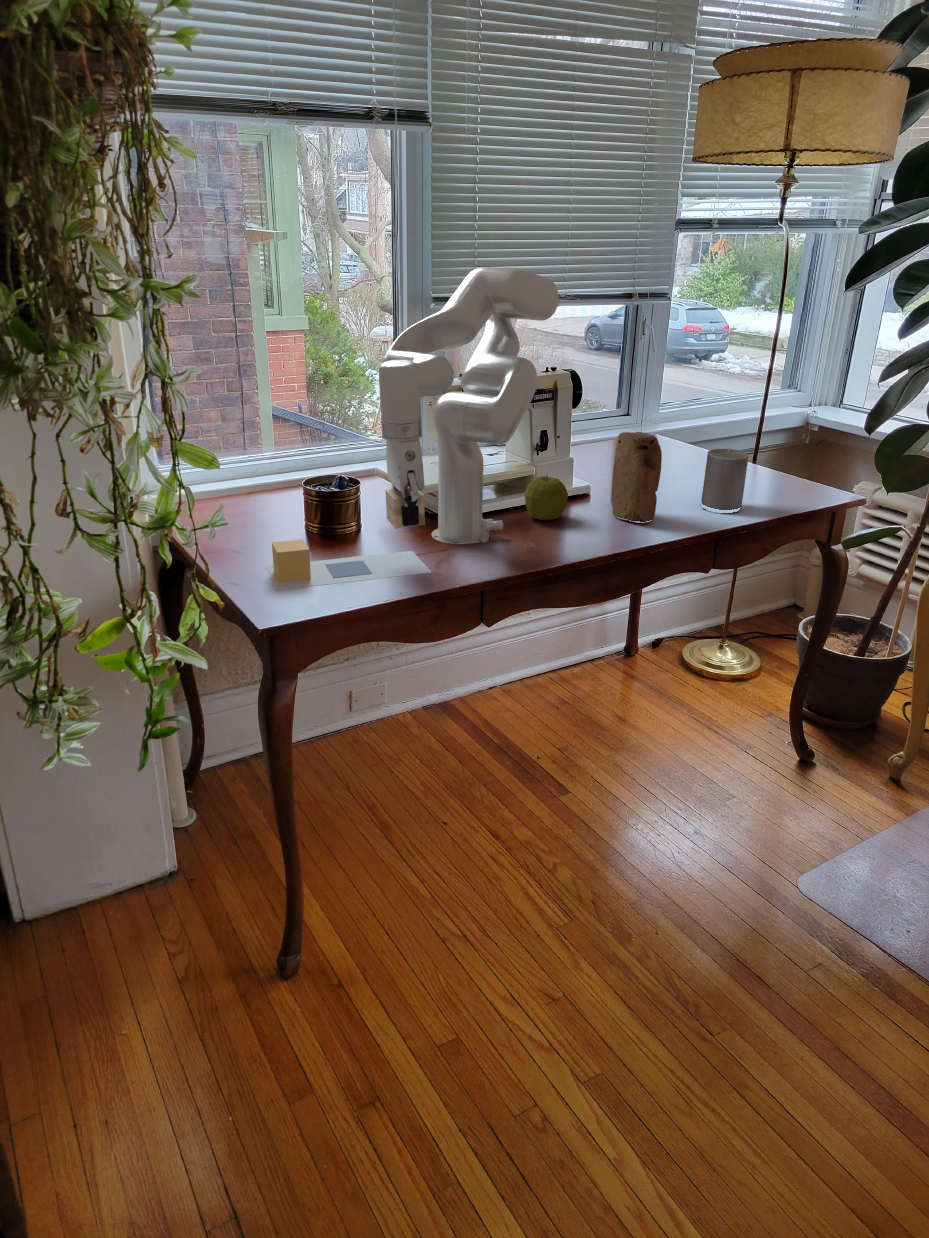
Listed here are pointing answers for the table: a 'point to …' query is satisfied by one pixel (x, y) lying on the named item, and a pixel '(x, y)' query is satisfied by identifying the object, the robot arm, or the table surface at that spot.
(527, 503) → the apple
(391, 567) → the board
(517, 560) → the table surface
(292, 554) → the ochre cube
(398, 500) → the maple cube
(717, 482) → the pillar candle
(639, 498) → the block
